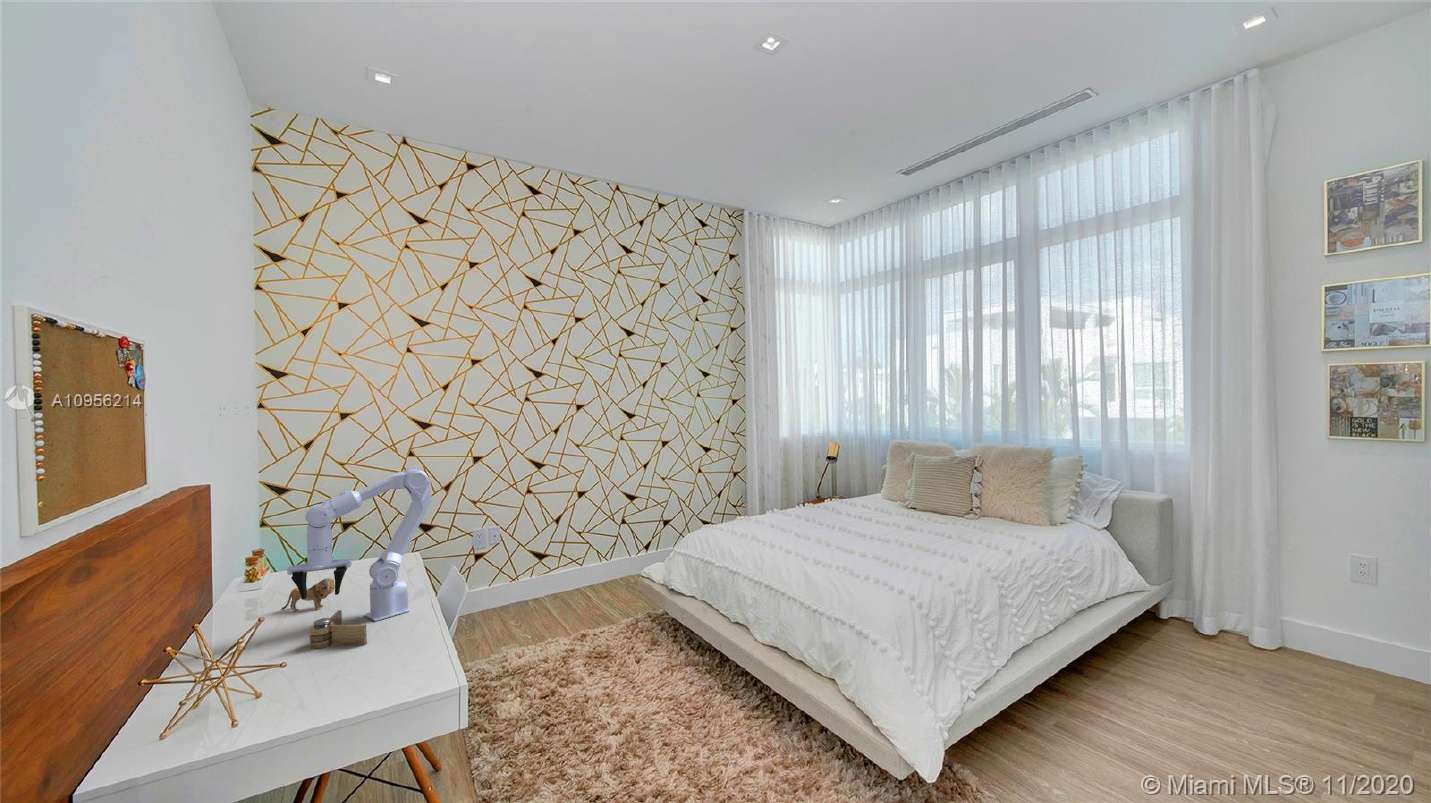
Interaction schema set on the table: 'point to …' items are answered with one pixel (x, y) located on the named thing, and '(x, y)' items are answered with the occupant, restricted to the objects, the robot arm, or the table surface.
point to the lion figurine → (313, 594)
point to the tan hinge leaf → (339, 635)
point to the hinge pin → (322, 622)
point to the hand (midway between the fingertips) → (320, 595)
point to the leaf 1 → (337, 621)
